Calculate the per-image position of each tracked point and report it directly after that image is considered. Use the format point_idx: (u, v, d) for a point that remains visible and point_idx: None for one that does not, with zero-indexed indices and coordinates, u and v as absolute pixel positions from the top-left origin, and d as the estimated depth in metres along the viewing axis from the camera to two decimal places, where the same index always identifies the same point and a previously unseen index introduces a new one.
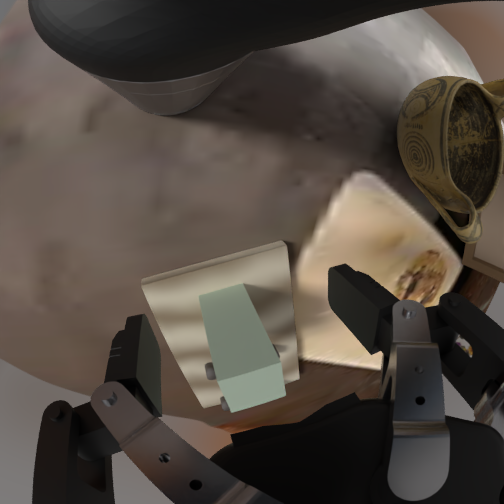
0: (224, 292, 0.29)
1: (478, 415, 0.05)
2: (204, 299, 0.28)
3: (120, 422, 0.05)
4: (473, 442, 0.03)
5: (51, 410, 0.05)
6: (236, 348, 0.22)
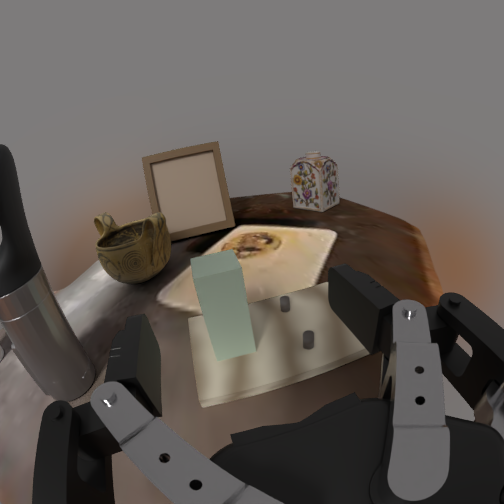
0: None
1: (478, 415, 0.05)
2: None
3: (120, 422, 0.05)
4: (473, 442, 0.03)
5: (50, 409, 0.05)
6: None
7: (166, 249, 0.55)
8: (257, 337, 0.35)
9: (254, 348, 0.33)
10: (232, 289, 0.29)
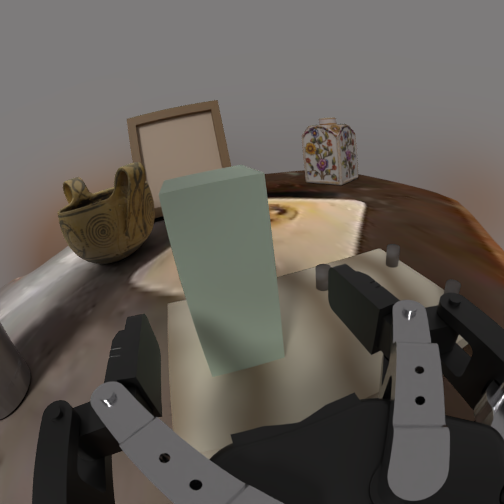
0: None
1: (478, 415, 0.05)
2: None
3: (120, 422, 0.05)
4: (473, 442, 0.03)
5: (50, 409, 0.05)
6: None
7: (147, 215, 0.40)
8: (284, 332, 0.20)
9: (281, 351, 0.17)
10: (244, 222, 0.13)
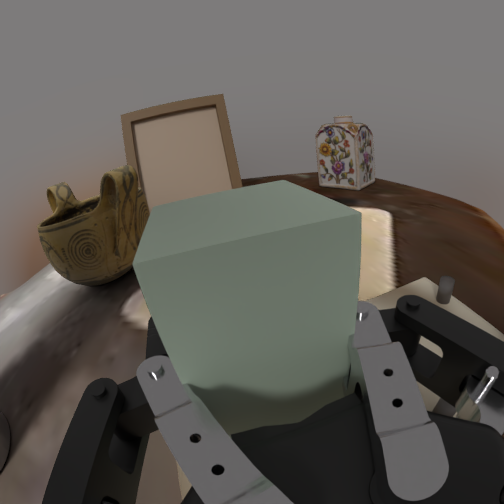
0: None
1: (462, 412, 0.05)
2: None
3: (172, 392, 0.06)
4: (470, 445, 0.03)
5: (94, 386, 0.06)
6: None
7: (141, 230, 0.33)
8: None
9: None
10: (314, 310, 0.07)
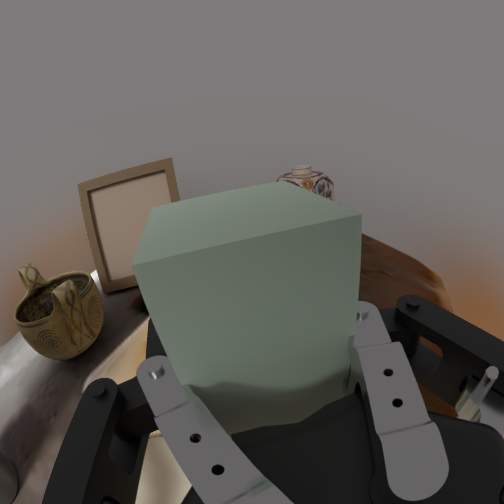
0: None
1: (462, 412, 0.05)
2: None
3: (172, 392, 0.06)
4: (470, 445, 0.03)
5: (94, 386, 0.06)
6: None
7: (91, 322, 0.36)
8: None
9: None
10: (314, 311, 0.07)
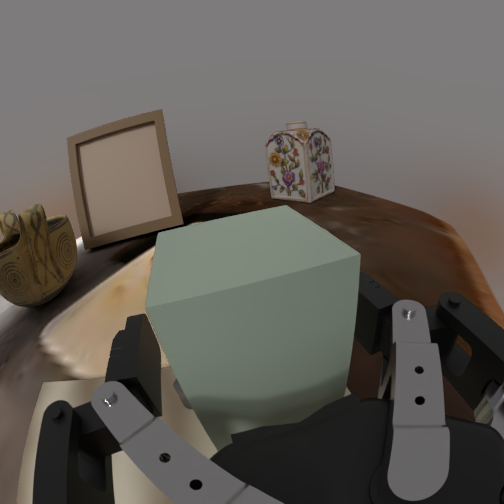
0: None
1: (478, 415, 0.05)
2: None
3: (121, 422, 0.05)
4: (473, 442, 0.03)
5: (51, 409, 0.05)
6: None
7: (59, 259, 0.31)
8: (118, 462, 0.11)
9: None
10: (313, 341, 0.07)
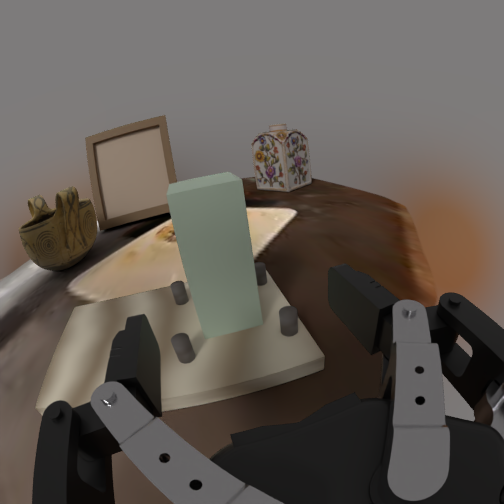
0: None
1: (478, 415, 0.05)
2: None
3: (120, 422, 0.05)
4: (473, 442, 0.03)
5: (51, 409, 0.05)
6: None
7: (85, 230, 0.43)
8: None
9: (260, 319, 0.22)
10: (227, 215, 0.18)
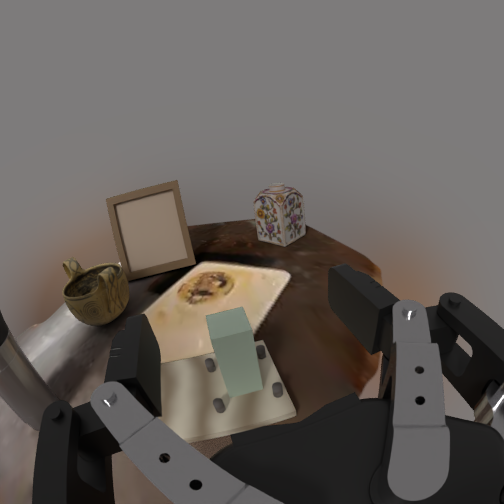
0: None
1: (478, 415, 0.05)
2: None
3: (120, 422, 0.05)
4: (473, 442, 0.03)
5: (50, 409, 0.05)
6: None
7: (122, 297, 0.57)
8: (181, 395, 0.37)
9: (261, 386, 0.36)
10: (244, 345, 0.32)
